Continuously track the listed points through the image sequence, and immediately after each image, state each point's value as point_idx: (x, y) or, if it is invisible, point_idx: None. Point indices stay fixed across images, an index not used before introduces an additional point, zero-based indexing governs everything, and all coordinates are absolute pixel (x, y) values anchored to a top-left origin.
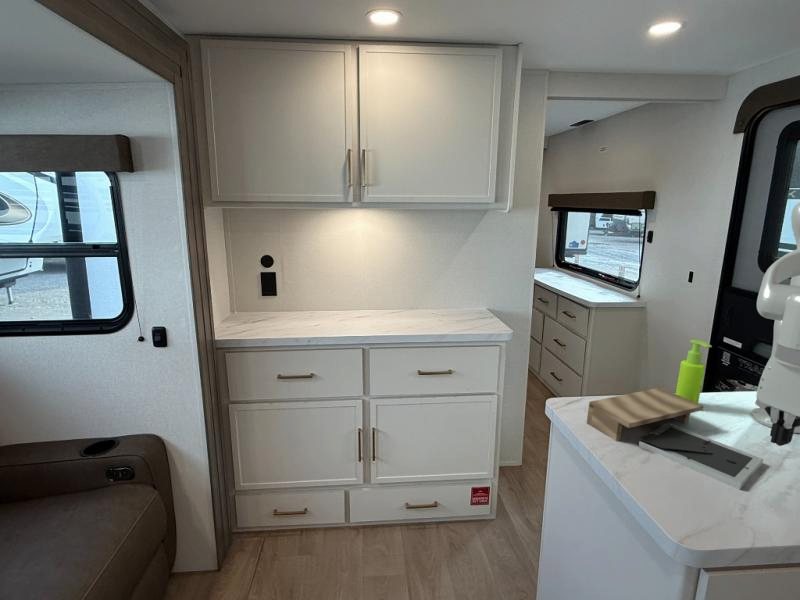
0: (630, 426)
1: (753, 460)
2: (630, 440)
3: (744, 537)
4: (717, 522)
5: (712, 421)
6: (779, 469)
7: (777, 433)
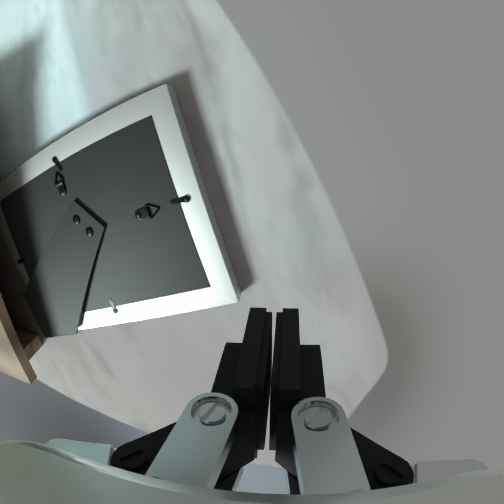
0: (33, 374)
1: (160, 126)
2: None
3: None
4: None
5: (8, 35)
6: (211, 59)
7: (267, 412)
